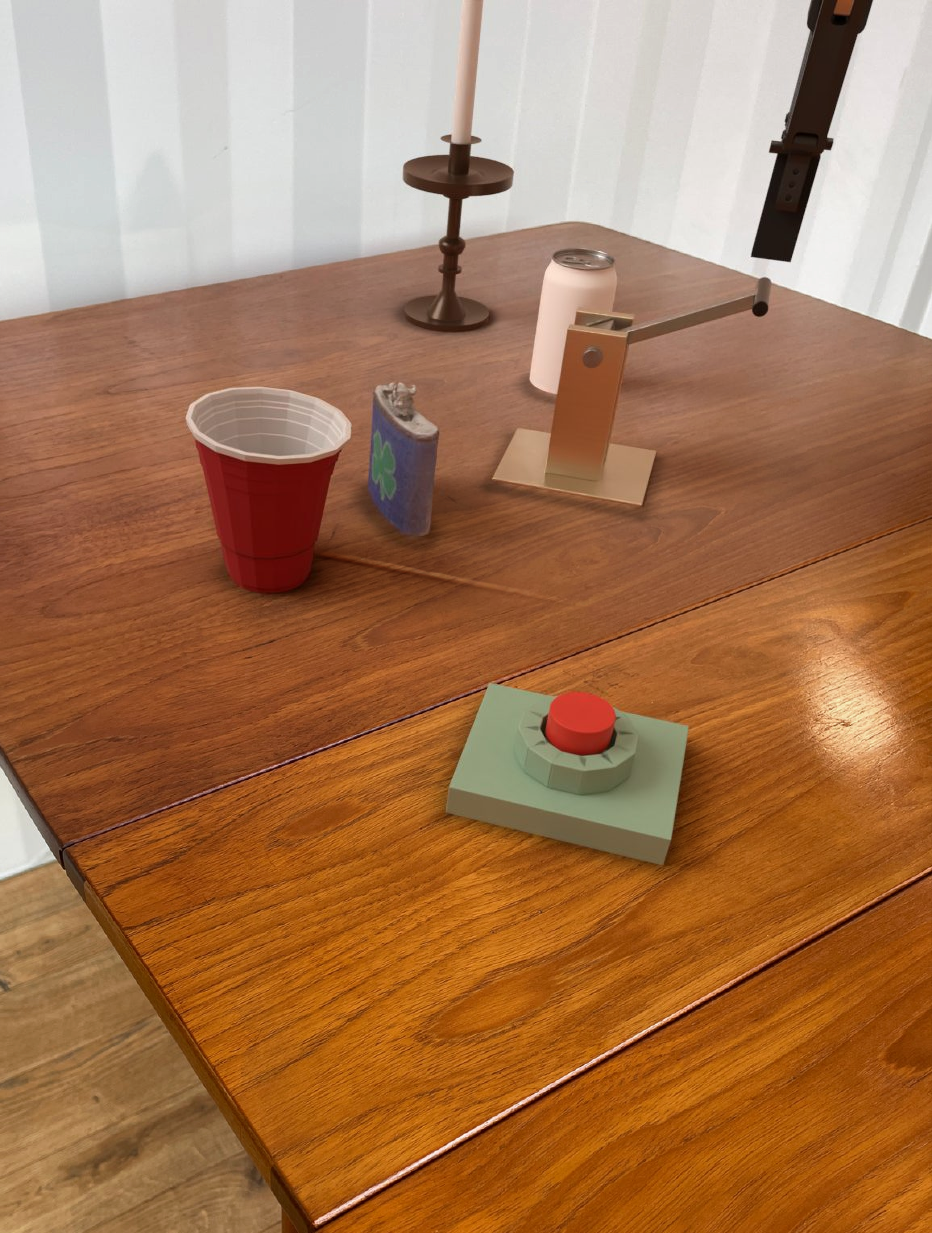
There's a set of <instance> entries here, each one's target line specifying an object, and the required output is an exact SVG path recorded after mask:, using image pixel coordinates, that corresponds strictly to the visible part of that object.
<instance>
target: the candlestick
mask: <svg viewBox="0 0 932 1233" xmlns="http://www.w3.org/2000/svg"><path fill="white" fill-rule="evenodd" d="M483 7H484V0H462V3H461V14H460V25H459V26H460V27H459V38H458V40H459V41H458V51H457V52H458V53H457V63H456V64H457V65H456V77H455V88H454V89H455V90H454V102H453V115H452V128H451V134H450V133H449V134H445V135H442V136H440V140H441V141H442V142H444V143H448V144H449V151H448V154H433V155H423V156H419V157H415V158H412V159H409V160H407V161H406V162H404V164H403V166H402V182H403V183H404V184H406V185H407V186H409V187H411V188H413V189H416V190H418V191H422V192H426V193H430V194H436V195H441V196H443V197H444V198H446V199H448V210H447V221H446V222H447V223H446V234H445V235H444V236H442V237H441V238H440V239H439V240H438V244H437V245H438V248H439V252H440V253H441V254H443V258H442V259H443V260H442V264H439V265H438V267H437V268H438V269H437V272H439V273H440V274H442V281H441V283H442V284H441V290H440V292H439V293H438V294H435V295H425V296H424V295H423V296H420V297H415V298H412V299H410V300H409V301H407V302H406V303H405V304H404V307H403V318H404V319H405V320H406V321H407V322H408V323H409V324H411V325H413V326H415V327H417V328H420V329H424V330H428V331H433V332H438V333H439V332H441V333H464V332H470V331H475V330H478V329H481V328H482V327H484V326H486V325H487V324H488V322H489V317H490V311H489V308H488V307H487V306H486V305H484V304H483V303H481V302H479V301H477V300H474V299H471V298H467V297H464V296H458V294H457V292H456V282H457V281H456V279H457V275H460V274H461V273H462V272H463V270H462V269H463V268H462V265H459V256H460V255H462V254H463V252H464V251H465V249H466V246H467V242H466V240H465V239H464V238H463V237H462V236H460V233H461V223H462V210H463V200H466V199H469V198H470V197H484V196H485V197H486V196H491V195H497V194H500V193H504V192H507V191H508V190H510V189H511V188H512V187H513V184H514V183H513V182H514V174H515V171H514V169H513V168H512V167H511V166H509V165H508V164H506V163H503V162H501V161H498V160H494V159H491V158H488V157H481V156H476V155H475V156H473V155H471V153H472V145H476V144H480V143H482V141H483V139H482V138H480V137H478V136H475V135H472V130H473V129H472V128H473V119H474V109H475V108H474V107H475V96H476V88H477V87H476V86H477V75H478V64H479V54H480V42H481V31H482V20H483V9H484V8H483Z"/></svg>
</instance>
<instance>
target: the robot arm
mask: <svg viewBox="0 0 932 1233" xmlns="http://www.w3.org/2000/svg"><path fill="white" fill-rule="evenodd" d="M873 3H874V0H810V2H809V7H808V11H807V18H806V26H807V29H809V34H808V38H807V41H806V45H805V49H804V53H803V57H802V61H801V64H800V68H799V73H798V75H797V76H798V77H797V80H796V85H795V88H794V92H793V96H792V98H791V103H790V108H789V111H788V112H787V113H786V114H785V117H784V118H785V119H784V129H783V130H782V133H781V136H780V140H772V139H771V141H770V145H769V150H768V153H769V154H776V157H775V161H774V165H773V169H772V172H771V176H770V180H769V183H768V188H767V191H766V194H765V199H764V203H763V206H762V211H761V214H760V218H759V220H758V221H759V222H758V226H757V230H756V233H755V237H754V241H753V245H752V249H751V253H750V258H754V259H763V260H771V261H778V262H785V263H791V262H792V259H793V255H794V252H795V249H796V246H797V245H796V244H797V241H798V238H799V235H800V231H801V227H802V224H803V221H804V218H805V214H806V211H807V208H808V203H809V199H810V196H811V193H812V189H813V186H814V183H815V179H816V176H817V172H818V168H819V165H820V161H821V157H822V156H821V155H822V154H823V153H825V151H832V148H833V146H834V138H833V137H828V136H829V132H830V129H831V125H832V122H833V119H834V116H835V112H836V109H837V105H838V102H839V100H840V96H841V93H842V88H843V85H844V82H845V79H846V76H847V72H848V69H849V65H850V62H851V58H852V55H853V52H854V49H855V45H856V42H857V39H858V35H860V34H861V33H863V31H864V30H865V29H866V26H867V23H868V20H869V16H870V12H871V9H872V5H873Z"/></svg>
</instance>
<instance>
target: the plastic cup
mask: <svg viewBox="0 0 932 1233" xmlns="http://www.w3.org/2000/svg"><path fill="white" fill-rule="evenodd" d="M185 422H186V425H187V427H188V428H189V431H190V432H191V434H192V436H193V438H194V442H195V448H196V449H197V452H198V457H199V463H200V465H201V467H202V471H203V476H204V480H205V485H206V489H207V494H208V498H209V499H208V500H209V503H210V507H211V512H212V516H213V521H214V525H215V530H216V535H217V537H218V539H219V543H220V546H221V551H222V555H223V560H224V565H225V569H226V571H227V572H228V575H229V577H230V579H231V580H232V582H233V583H234V584H236V585H237V586H239V587H240V588H242V589H243V590H247V591H251V592H254V593H257V594H277V593H284V592H289V591H292V590H293V589H296V588H298V587H299V586H302V585H303V583H305V581H306V580H307V579H308V577H309V574H310V573H311V569H312V564H313V559H314V553H315V549H316V548H315V547H316V542H318V539H319V534H320V530H321V524H322V520H323V515H324V512H325V506H326V501H327V496H328V492H329V487H330V482H331V477H332V476H333V474H334V471H335V467H336V463H337V462H338V461H339V457H340V453H341V452H342V450H343V449H344V447H346V446H347V445H348V444H349V442H350V440H351V437H352V422H351V421H350V420H349V418H347V416H346V415H345V414H344V413H343V411H342V410H341V409H339V408H337V407H336V406H334V405H332V404H330V403H329V402H327V401H324V400H323V399H321V398H319V397H315V396H312V395H308V394H305V393H301V392H299V391H295V390H293V389H291V390H290V389H283V388H274V387H266V386H244V387H243V386H242V387H241V386H240V387H228V388H225V389H221V390H217V391H212V392H209V393H206V394H204V395H202V396H201V397H199V398H198V399H196V400H194V401H193V402H191V403H190V404H189V406H188V409H187V412H186V415H185Z"/></svg>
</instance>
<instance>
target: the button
mask: <svg viewBox="0 0 932 1233" xmlns="http://www.w3.org/2000/svg"><path fill="white" fill-rule="evenodd" d="M557 696H558V697H556V698H555V699H554V700H553V701H552V703H551V705H550V709H549V714H548V719H547V725H546V730H545V733H546V737H547V739H548V741H549V742H550V744H551V745H553V746H554V747H556V748H557V749H559V750H560V751H562V752H566V753H570V754H575V755H579V756H587V755H595V754H600V753H602V752H603V751H604V750H606V749H607V747H608V746H609V744H610V741H611V737H612V733H613V728H614V724H615V720H616V714H615V711H614V709H613V707H614V706H613V705H611V703H610V702H608V701H607V699H604V698H602V697H601V696H598V695H596V694H593V693H589V692H585V691H584V692H583V691H569V692H565V693H562V694H560V695H557ZM612 706H613V707H612Z"/></svg>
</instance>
